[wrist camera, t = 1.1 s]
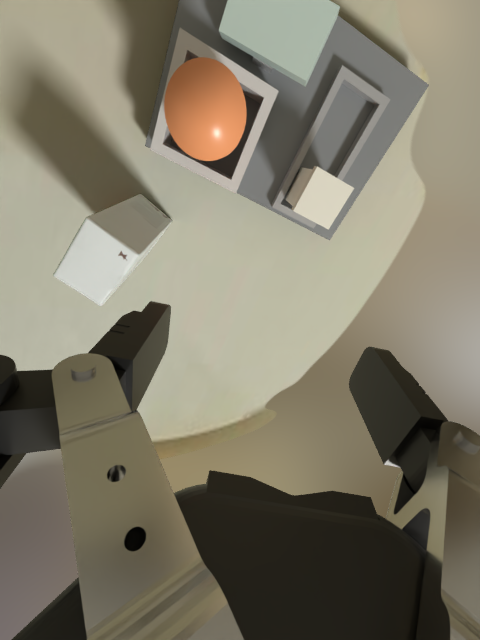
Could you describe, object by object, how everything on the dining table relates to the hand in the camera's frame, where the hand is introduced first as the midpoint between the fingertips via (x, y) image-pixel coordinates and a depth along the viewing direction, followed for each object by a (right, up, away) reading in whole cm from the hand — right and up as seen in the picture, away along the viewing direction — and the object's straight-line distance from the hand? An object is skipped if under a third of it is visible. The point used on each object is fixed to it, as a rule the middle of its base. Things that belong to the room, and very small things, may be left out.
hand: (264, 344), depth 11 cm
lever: (+5, +14, +15) cm, 21 cm away
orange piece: (-3, +16, +10) cm, 19 cm away
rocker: (+2, +21, +8) cm, 23 cm away
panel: (+3, +20, +14) cm, 24 cm away
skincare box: (-12, +11, +19) cm, 25 cm away
